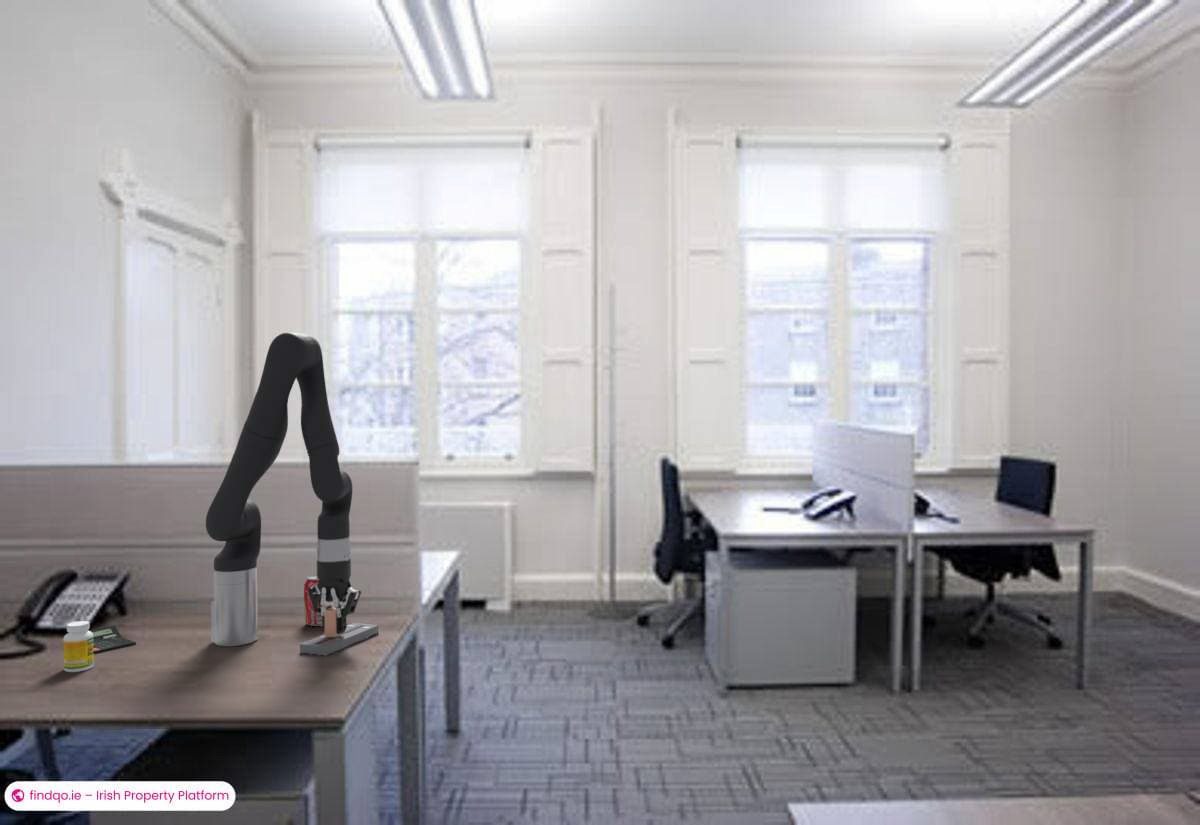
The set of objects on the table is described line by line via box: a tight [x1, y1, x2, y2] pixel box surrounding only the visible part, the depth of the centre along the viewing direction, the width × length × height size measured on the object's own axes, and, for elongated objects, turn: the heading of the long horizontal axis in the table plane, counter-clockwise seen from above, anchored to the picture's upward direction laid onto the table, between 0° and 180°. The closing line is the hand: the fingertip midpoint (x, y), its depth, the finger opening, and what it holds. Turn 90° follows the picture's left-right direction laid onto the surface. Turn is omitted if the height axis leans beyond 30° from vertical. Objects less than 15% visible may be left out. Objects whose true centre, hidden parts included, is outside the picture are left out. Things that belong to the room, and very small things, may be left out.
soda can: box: [303, 574, 334, 627], centre depth 208 cm, size 7×7×12 cm
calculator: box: [88, 624, 137, 655], centre depth 191 cm, size 9×12×3 cm
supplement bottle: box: [63, 620, 95, 673], centre depth 174 cm, size 5×5×10 cm
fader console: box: [299, 622, 380, 656], centre depth 192 cm, size 7×19×2 cm, turn 159°
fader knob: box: [324, 607, 344, 637], centre depth 190 cm, size 3×3×6 cm
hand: (334, 631), depth 190 cm, fingers closed on fader knob, 3 cm apart
